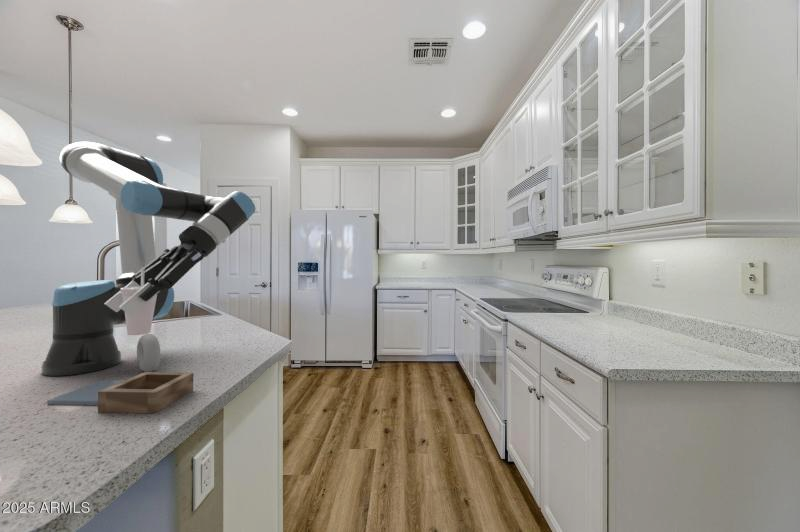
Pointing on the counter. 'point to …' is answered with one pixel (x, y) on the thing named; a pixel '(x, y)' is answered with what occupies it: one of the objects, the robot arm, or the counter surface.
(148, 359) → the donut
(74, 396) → the coaster
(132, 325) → the smoothie
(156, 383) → the collar
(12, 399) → the counter surface
